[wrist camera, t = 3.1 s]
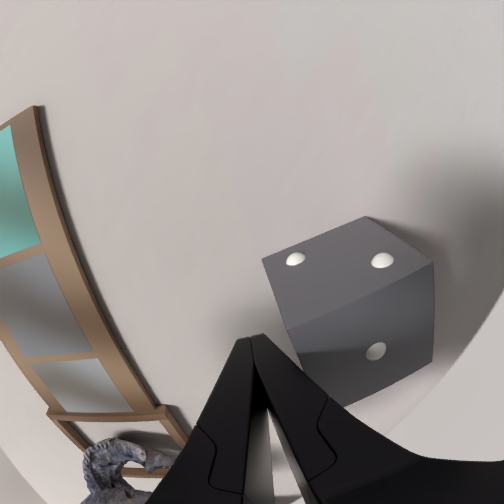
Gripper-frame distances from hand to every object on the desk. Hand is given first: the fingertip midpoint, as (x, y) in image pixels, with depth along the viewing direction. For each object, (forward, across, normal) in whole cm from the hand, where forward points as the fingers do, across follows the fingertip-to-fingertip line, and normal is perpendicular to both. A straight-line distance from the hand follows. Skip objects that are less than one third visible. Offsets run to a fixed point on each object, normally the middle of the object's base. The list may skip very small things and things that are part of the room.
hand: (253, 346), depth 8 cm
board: (+3, +9, -2) cm, 10 cm away
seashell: (+3, +9, +9) cm, 13 cm away
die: (+3, -3, 0) cm, 4 cm away
